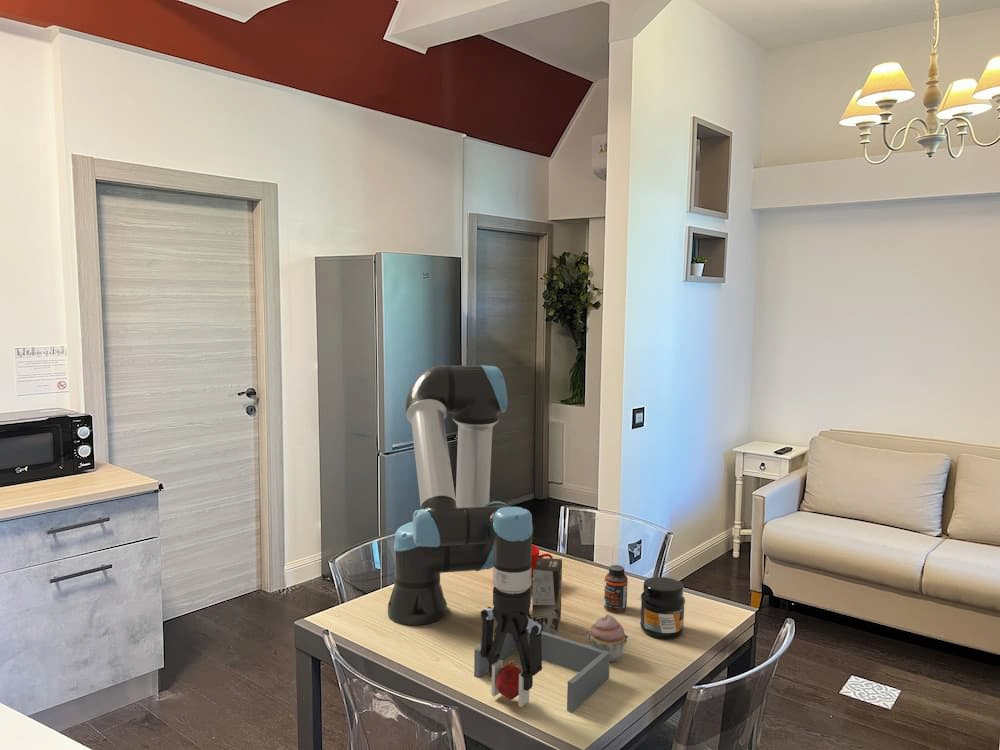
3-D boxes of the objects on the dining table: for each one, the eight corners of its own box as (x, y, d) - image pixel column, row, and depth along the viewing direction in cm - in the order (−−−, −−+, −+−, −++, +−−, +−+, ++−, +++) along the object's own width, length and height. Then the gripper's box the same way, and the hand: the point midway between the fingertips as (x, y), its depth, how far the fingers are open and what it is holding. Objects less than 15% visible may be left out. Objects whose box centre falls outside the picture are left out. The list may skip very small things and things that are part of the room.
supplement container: (670, 644, 173) (671, 595, 172) (631, 631, 180) (633, 583, 179) (691, 630, 180) (693, 583, 179) (654, 617, 188) (655, 572, 186)
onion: (515, 710, 143) (515, 671, 142) (490, 701, 146) (490, 663, 145) (530, 697, 148) (530, 659, 147) (505, 688, 151) (506, 651, 150)
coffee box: (557, 636, 176) (558, 571, 175) (530, 633, 178) (532, 569, 176) (561, 620, 185) (563, 558, 184) (536, 617, 187) (537, 556, 185)
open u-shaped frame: (474, 675, 157) (474, 649, 156) (515, 647, 170) (515, 623, 169) (572, 712, 143) (573, 683, 143) (608, 679, 156) (609, 652, 156)
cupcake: (584, 646, 171) (585, 605, 170) (624, 647, 171) (625, 606, 170) (588, 665, 162) (589, 622, 161) (630, 667, 162) (631, 623, 161)
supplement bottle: (601, 611, 191) (602, 569, 190) (606, 602, 197) (608, 561, 195) (623, 615, 189) (625, 572, 188) (628, 606, 194) (630, 565, 193)
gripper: (462, 581, 147) (461, 691, 149) (542, 604, 136) (540, 722, 138) (484, 570, 153) (483, 676, 155) (562, 592, 142) (560, 705, 145)
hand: (510, 698), depth 147 cm, fingers closed on onion, 6 cm apart
